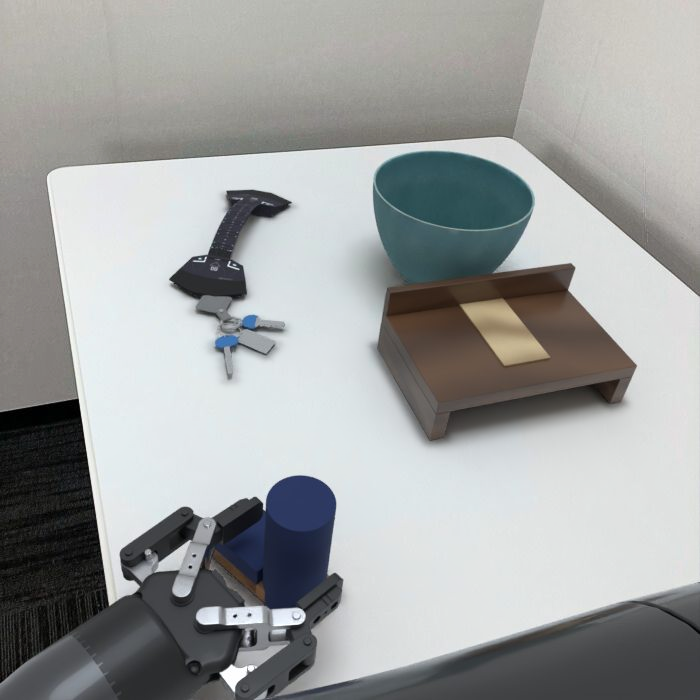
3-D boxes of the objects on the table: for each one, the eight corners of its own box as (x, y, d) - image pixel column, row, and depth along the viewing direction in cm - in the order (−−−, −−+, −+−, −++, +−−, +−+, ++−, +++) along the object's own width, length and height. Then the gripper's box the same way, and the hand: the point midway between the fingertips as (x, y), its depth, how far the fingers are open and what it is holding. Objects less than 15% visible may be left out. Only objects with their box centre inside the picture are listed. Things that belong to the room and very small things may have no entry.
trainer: (337, 591, 60) (350, 502, 53) (294, 633, 57) (303, 544, 50) (252, 522, 64) (254, 430, 57) (208, 557, 61) (205, 465, 54)
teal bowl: (403, 335, 85) (421, 240, 77) (338, 247, 97) (347, 157, 89) (538, 306, 92) (567, 216, 84) (461, 227, 104) (480, 142, 96)
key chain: (189, 298, 86) (189, 292, 86) (259, 285, 89) (259, 279, 89) (227, 378, 77) (227, 372, 76) (304, 361, 80) (305, 355, 79)
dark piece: (294, 200, 105) (295, 178, 103) (243, 305, 86) (243, 280, 84) (229, 189, 106) (229, 166, 104) (164, 290, 87) (162, 265, 84)
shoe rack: (621, 401, 80) (648, 342, 75) (429, 440, 73) (444, 378, 68) (551, 319, 90) (571, 262, 85) (376, 347, 83) (386, 287, 78)
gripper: (159, 758, 40) (375, 578, 49) (24, 577, 47) (235, 450, 57) (167, 812, 45) (362, 639, 54) (44, 640, 52) (236, 513, 61)
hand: (297, 542), depth 55 cm, fingers open, 8 cm apart
